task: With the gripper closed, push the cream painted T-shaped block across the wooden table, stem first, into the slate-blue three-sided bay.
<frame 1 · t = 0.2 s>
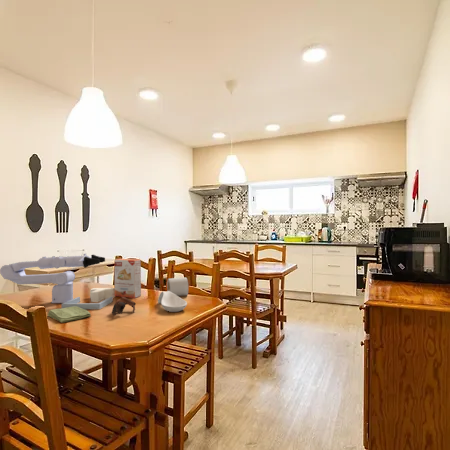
hand: (102, 260, 167), 21 cm above the table, tool horizontal, fingers open, 7 cm apart
T-block: (101, 298, 173), on the table
cracker box: (127, 296, 178), on the table
toilet paper: (177, 296, 178), on the table
bay: (91, 303, 161), on the table
spoon rest: (169, 308, 151), on the table
brown arched piece: (122, 314, 141), on the table
washcloth: (69, 317, 137), on the table
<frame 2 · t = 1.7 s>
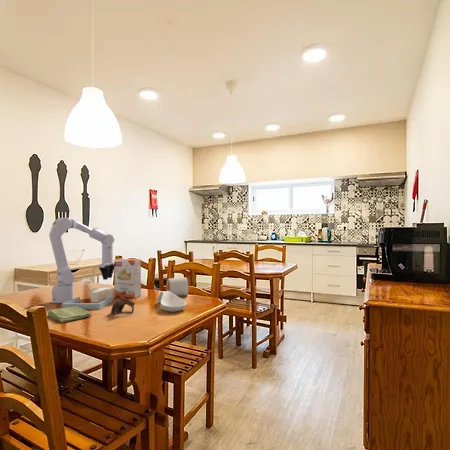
hand: (107, 278, 182), 9 cm above the table, tool pointing down, fingers open, 6 cm apart
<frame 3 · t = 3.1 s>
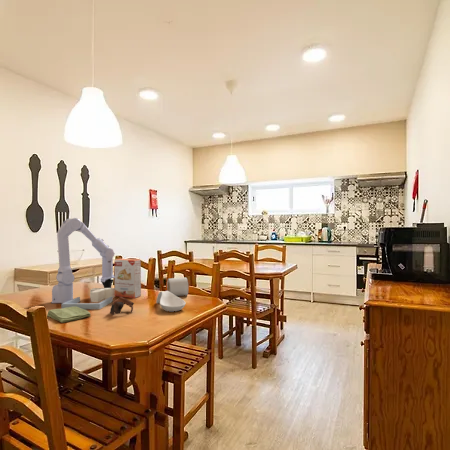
hand: (107, 292, 182), 1 cm above the table, tool pointing down, fingers closed
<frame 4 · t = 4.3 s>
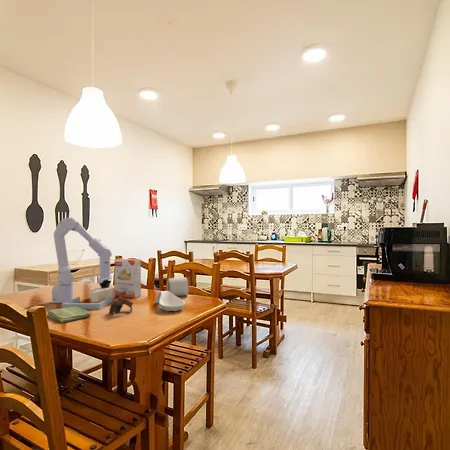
hand: (105, 293, 178), 1 cm above the table, tool pointing down, fingers closed
T-block: (101, 298, 173), on the table, touching gripper
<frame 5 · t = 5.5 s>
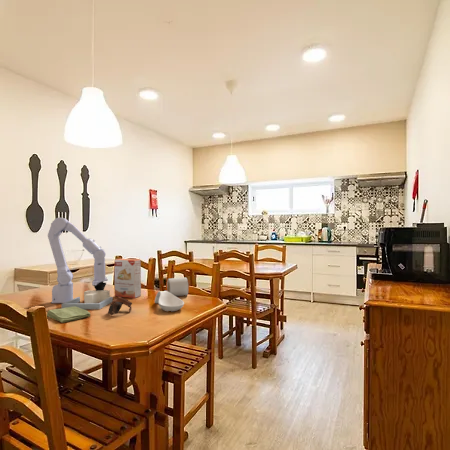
hand: (99, 296, 171), 1 cm above the table, tool pointing down, fingers closed
T-block: (95, 301, 166), on the table, touching gripper
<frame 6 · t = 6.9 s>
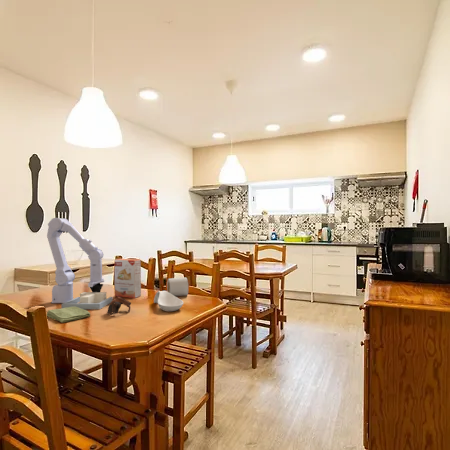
hand: (96, 298, 167), 1 cm above the table, tool pointing down, fingers closed
T-block: (91, 303, 161), on the table, touching gripper
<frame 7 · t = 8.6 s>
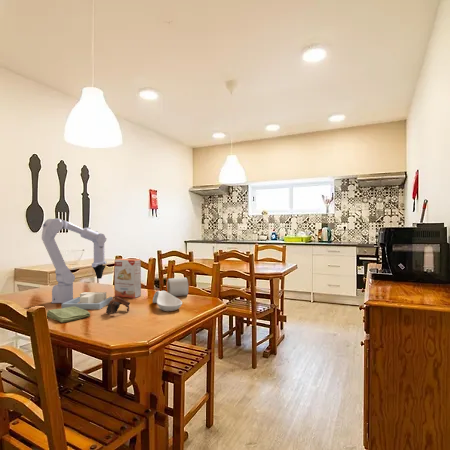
hand: (99, 278, 180), 10 cm above the table, tool pointing down, fingers closed
T-block: (91, 303, 161), on the table
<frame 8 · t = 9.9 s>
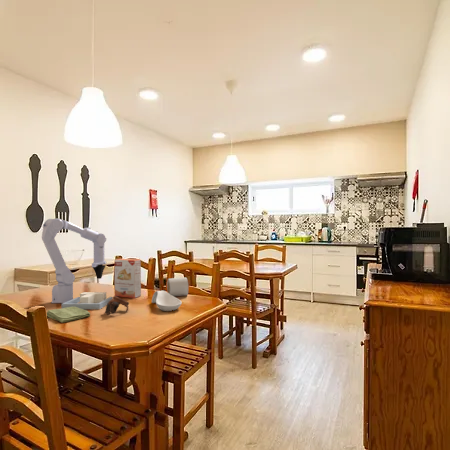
hand: (99, 278, 180), 10 cm above the table, tool pointing down, fingers closed
at the end: T-block inside the target area (0.5 cm from its centre), on the table; T-block tilted 0°; T-block moved 11.7 cm from its start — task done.
